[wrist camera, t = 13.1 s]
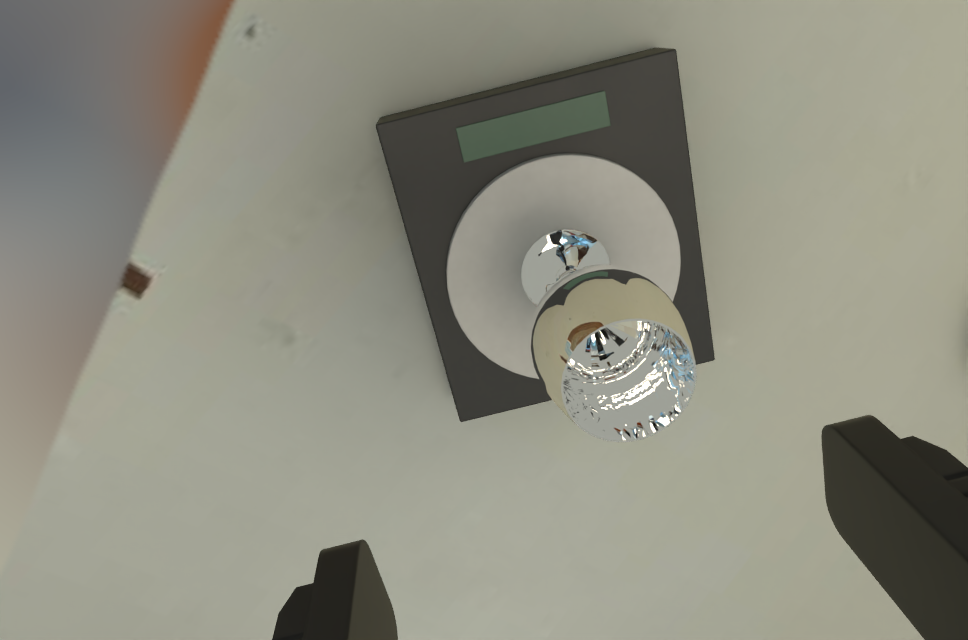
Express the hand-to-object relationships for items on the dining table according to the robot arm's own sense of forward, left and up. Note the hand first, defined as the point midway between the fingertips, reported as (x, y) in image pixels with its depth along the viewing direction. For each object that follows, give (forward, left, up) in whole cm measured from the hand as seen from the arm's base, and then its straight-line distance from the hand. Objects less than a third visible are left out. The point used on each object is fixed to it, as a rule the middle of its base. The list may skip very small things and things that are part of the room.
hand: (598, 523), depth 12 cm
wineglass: (+4, +3, -24) cm, 24 cm away
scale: (+3, +3, -27) cm, 27 cm away
